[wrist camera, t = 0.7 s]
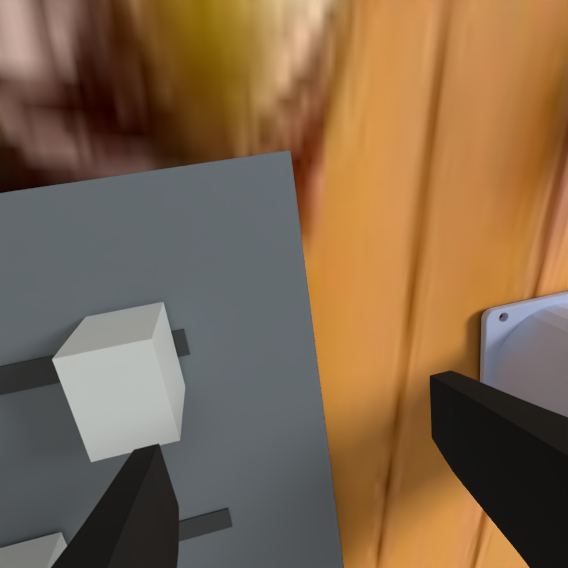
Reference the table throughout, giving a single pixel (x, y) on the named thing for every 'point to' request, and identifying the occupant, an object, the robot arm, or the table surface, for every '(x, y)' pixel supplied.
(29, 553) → the rear tab
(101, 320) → the block
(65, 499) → the switch board
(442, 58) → the table surface
